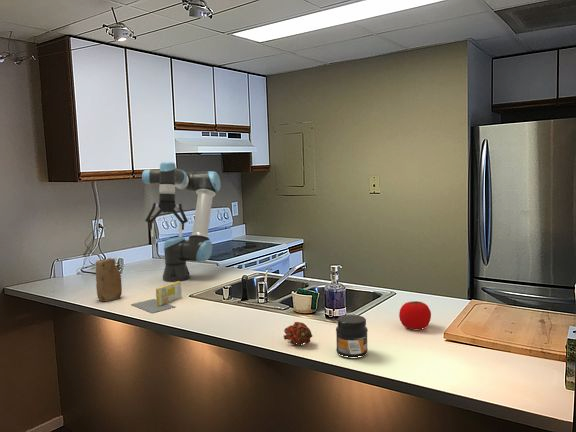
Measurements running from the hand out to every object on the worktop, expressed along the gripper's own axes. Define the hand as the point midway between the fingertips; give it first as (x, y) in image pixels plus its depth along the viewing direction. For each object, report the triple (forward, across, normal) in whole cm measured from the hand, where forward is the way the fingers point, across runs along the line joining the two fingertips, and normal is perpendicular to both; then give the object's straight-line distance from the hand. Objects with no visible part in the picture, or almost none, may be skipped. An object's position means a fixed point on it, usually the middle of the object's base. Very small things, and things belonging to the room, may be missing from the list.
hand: (166, 236), depth 241 cm
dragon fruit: (+38, +32, -84) cm, 98 cm away
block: (+31, -25, +12) cm, 41 cm away
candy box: (+31, 0, -8) cm, 32 cm away
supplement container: (+38, +45, -101) cm, 117 cm away
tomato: (+34, +79, -91) cm, 125 cm away
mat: (+32, -8, -11) cm, 35 cm away
